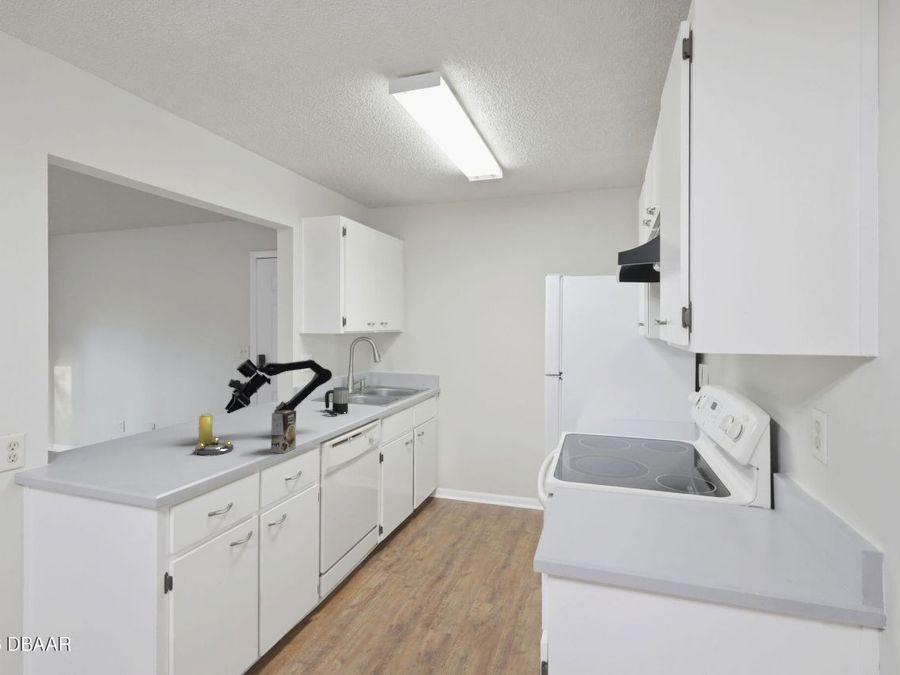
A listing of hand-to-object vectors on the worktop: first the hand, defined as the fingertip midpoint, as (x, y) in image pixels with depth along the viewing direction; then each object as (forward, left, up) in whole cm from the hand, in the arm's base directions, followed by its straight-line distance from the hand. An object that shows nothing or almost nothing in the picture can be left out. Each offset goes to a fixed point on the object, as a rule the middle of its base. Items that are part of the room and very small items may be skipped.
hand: (226, 411), depth 209 cm
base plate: (-5, +14, -14) cm, 20 cm away
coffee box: (-31, +5, -14) cm, 34 cm away
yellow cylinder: (+6, +5, -14) cm, 16 cm away
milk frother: (-18, -74, -14) cm, 77 cm away
